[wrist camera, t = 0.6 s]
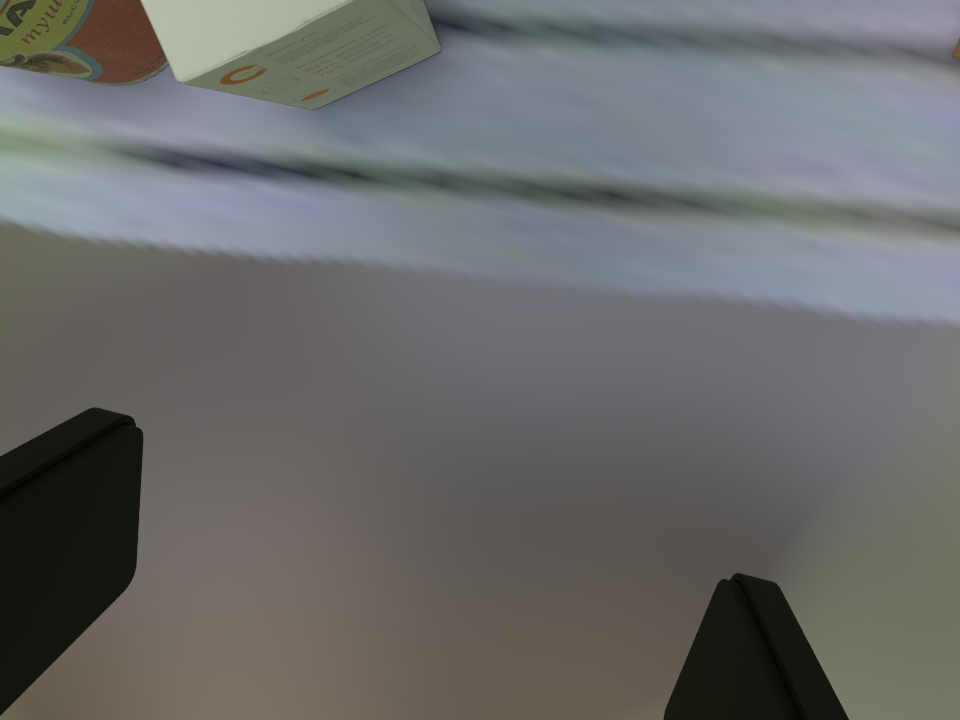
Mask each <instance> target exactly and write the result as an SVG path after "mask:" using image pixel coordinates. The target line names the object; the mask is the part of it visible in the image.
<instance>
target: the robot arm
mask: <svg viewBox="0 0 960 720" xmlns="http://www.w3.org/2000/svg"><path fill="white" fill-rule="evenodd" d="M142 454H143V432H142V430H141V429H140V428H138V427H136V424H135V421H134V419H133V418H132V417H131V416H128V415H124V414H120V413H116V412H112V411H108V410H104V409H101V408H95V407H94V408H90V409H88V410H86V411H84V412H82V413H80V414H78V415H77V416H75V417H73V418H71V419H69V420H67V421H65V422H63V423H62V424H60V425H58V426H56V427H54V428H52V429H50V430H49V431H47V432H45V433H43V434H41V435H39V436H37V437H36V438H34V439H32V440H30V441H28V442H26V443H24V444H23V445H21V446H19V447H17V448H15V449H13V450H11V451H10V452H8V453H6V454H4V455H2V456H0V715H2V714H3V712H4V711H5V710H6V709H8V708H9V707H10V706H11V704H13V703H14V701H15V700H16V699H17V698H18V697H19V696H20V695H21V694H22V693H23V692H24V691H25V690H26V689H27V688H28V687H29V686H30V685H31V684H32V683H33V682H34V681H35V680H36V679H37V678H38V677H39V676H40V675H41V674H42V673H43V672H44V671H45V670H46V669H47V668H48V667H49V666H50V665H51V664H52V663H53V662H54V661H55V660H56V659H57V658H58V657H59V656H60V655H61V654H62V653H63V652H64V651H65V650H66V649H67V648H68V647H69V646H70V645H71V644H72V643H73V642H74V641H75V640H76V639H77V638H78V637H79V636H80V635H81V634H82V633H83V632H84V631H85V630H86V629H87V628H88V627H89V626H90V625H91V624H92V623H93V622H94V621H95V620H96V619H97V618H98V617H99V616H100V615H101V614H102V613H103V612H104V611H105V610H106V609H107V608H108V607H109V606H110V605H111V604H112V603H113V602H114V601H115V600H116V599H117V598H118V597H119V596H120V595H121V594H122V593H123V592H124V591H125V590H126V588H127V587H128V586H129V584H130V582H131V581H132V578H133V576H134V573H135V570H136V563H137V544H138V526H139V508H140V490H141V472H142ZM664 720H849V719H848V717H847V715H846V713H845V711H844V709H843V707H842V706H841V703H840V701H839V700H838V698H837V696H836V694H835V692H834V690H833V688H832V686H831V684H830V683H829V680H828V679H827V677H826V675H825V673H824V671H823V669H822V667H821V665H820V663H819V661H818V660H817V658H816V656H815V654H814V652H813V650H812V648H811V646H810V644H809V643H808V641H807V639H806V637H805V635H804V633H803V631H802V629H801V627H800V625H799V623H798V622H797V619H796V618H795V616H794V614H793V612H792V610H791V608H790V606H789V604H788V602H787V600H786V599H785V597H784V595H783V593H782V591H781V589H780V587H779V586H778V585H777V584H776V583H774V582H771V581H767V580H764V579H760V578H756V577H752V576H749V575H745V574H741V573H737V574H734V575H733V576H732V577H731V579H730V580H726V579H722V580H720V582H719V583H718V584H717V586H716V589H715V591H714V593H713V596H712V598H711V601H710V603H709V605H708V608H707V610H706V613H705V615H704V618H703V620H702V622H701V625H700V627H699V630H698V632H697V634H696V637H695V639H694V642H693V644H692V646H691V649H690V651H689V654H688V656H687V659H686V661H685V664H684V666H683V668H682V671H681V673H680V675H679V678H678V680H677V683H676V685H675V687H674V690H673V692H672V695H671V697H670V700H669V702H668V705H667V707H666V710H665V714H664Z"/></svg>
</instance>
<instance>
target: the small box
mask: <svg viewBox="0 0 960 720" xmlns="http://www.w3.org/2000/svg"><path fill="white" fill-rule="evenodd" d="M140 1H141V3H142V5H143V7H144V9H145V12H146V14H147V16H148V18H149V20H150V23H151V25H152V27H153V29H154V31H155V34H156V36H157V38H158V40H159V42H160V45H161V47H162V49H163V51H164V54H165V56H166V58H167V60H168V62H169V65H170V67H171V69H172V71H173V74H174V76H175V78H176V80H177V82H179V83H182V84H187V85H192V86H197V87H202V88H207V89H212V90H217V91H222V92H226V93H231V94H236V95H241V96H246V97H251V98H256V99H261V100H266V101H271V102H276V103H281V104H285V105H290V106H295V107H300V108H305V109H309V110H314V109H317V108H319V107H321V106H323V105H326V104H328V103H330V102H332V101H335V100H337V99H339V98H341V97H344V96H346V95H348V94H350V93H353V92H355V91H357V90H359V89H361V88H364V87H366V86H368V85H370V84H372V83H374V82H377V81H379V80H381V79H383V78H385V77H387V76H389V75H392V74H394V73H396V72H398V71H400V70H402V69H405V68H407V67H409V66H411V65H413V64H415V63H418V62H420V61H422V60H424V59H426V58H428V57H430V56H432V55H434V54H436V53H438V52H440V51H441V47H440V45H439V42H438V39H437V36H436V34H435V31H434V28H433V25H432V23H431V20H430V17H429V15H428V12H427V9H426V6H425V4H424V1H423V0H140Z"/></svg>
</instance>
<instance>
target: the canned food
mask: <svg viewBox="0 0 960 720" xmlns="http://www.w3.org/2000/svg"><path fill="white" fill-rule="evenodd" d="M168 65H169V62H168V60H167V58H166V56H165V54H164V51H163V49H162V47H161V45H160V42H159V40H158V38H157V36H156V34H155V31H154V29H153V27H152V25H151V23H150V20H149V18H148V16H147V14H146V12H145V9H144V7H143V5H142V3H141V1H140V0H0V66H5V67H11V68H17V69H23V70H29V71H35V72H41V73H47V74H53V75H59V76H65V77H71V78H77V79H83V80H86V81H89V82H93V83H97V84H103V85H112V86H121V85H130V84H135V83H138V82H141V81H144V80H147V79H149V78H151V77H153V76H155V75H156V74H158V73H159V72H161V71H162V70H164V69H165V68H166V67H167V66H168Z"/></svg>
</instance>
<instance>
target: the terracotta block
mask: <svg viewBox="0 0 960 720" xmlns="http://www.w3.org/2000/svg"><path fill="white" fill-rule="evenodd" d="M952 57H956V58H960V38H959V41H958V44H957V46H956V49H955V51H954V54H953V56H952Z"/></svg>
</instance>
